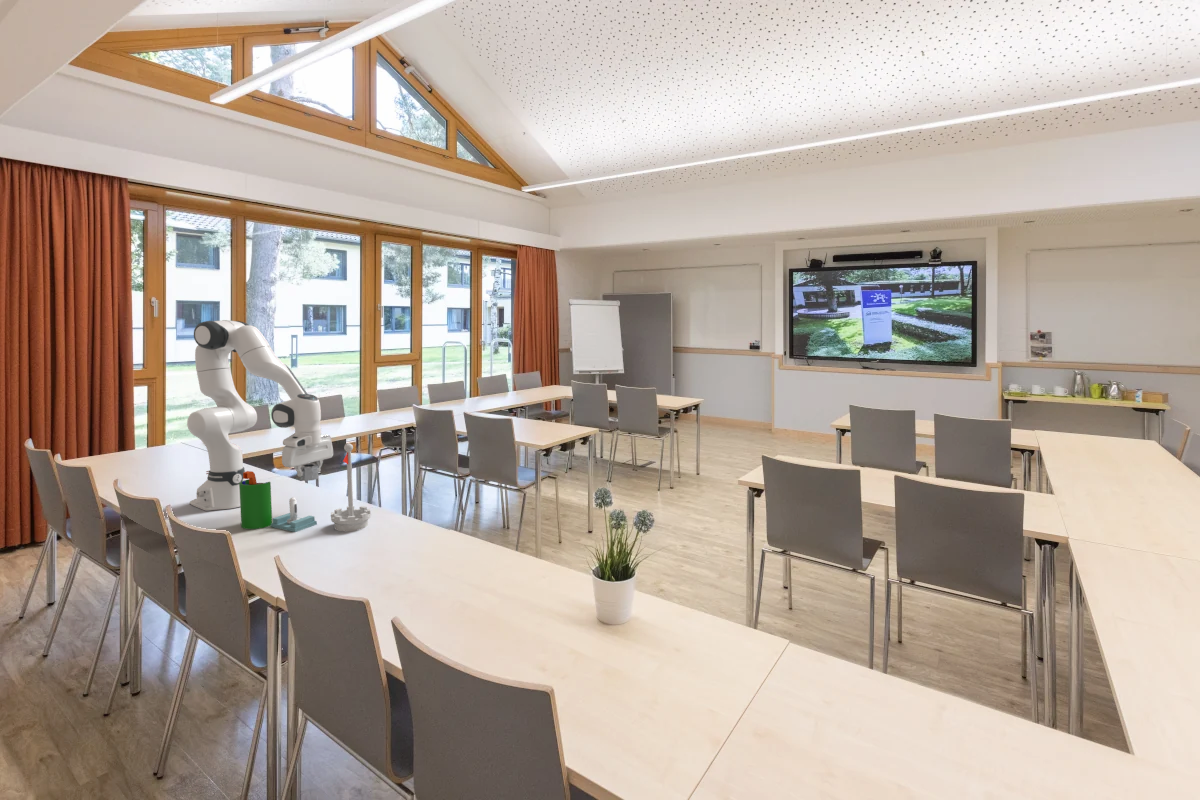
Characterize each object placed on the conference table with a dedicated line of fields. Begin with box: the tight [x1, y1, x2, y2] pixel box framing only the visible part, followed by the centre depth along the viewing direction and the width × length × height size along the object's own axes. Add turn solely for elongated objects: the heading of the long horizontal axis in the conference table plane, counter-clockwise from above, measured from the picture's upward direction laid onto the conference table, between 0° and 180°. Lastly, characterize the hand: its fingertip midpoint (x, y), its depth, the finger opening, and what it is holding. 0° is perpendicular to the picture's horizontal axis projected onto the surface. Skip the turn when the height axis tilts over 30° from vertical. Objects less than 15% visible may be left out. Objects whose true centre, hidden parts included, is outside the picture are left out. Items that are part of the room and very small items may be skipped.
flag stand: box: [330, 442, 372, 532], centre depth 218 cm, size 13×13×30 cm
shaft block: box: [270, 497, 318, 533], centre depth 219 cm, size 12×9×10 cm
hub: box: [299, 462, 319, 482], centre depth 232 cm, size 6×6×5 cm
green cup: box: [239, 470, 273, 530], centre depth 218 cm, size 10×9×20 cm
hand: (309, 474), depth 232 cm, fingers closed on hub, 6 cm apart
